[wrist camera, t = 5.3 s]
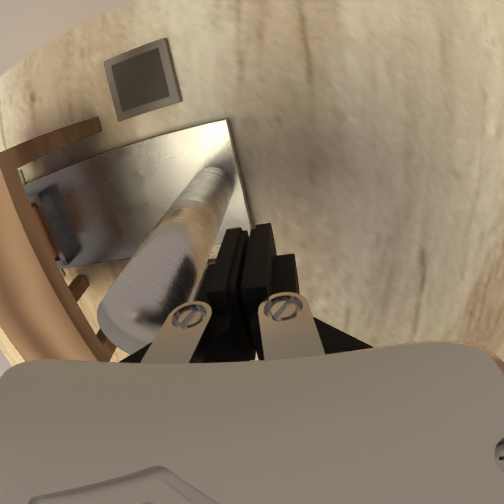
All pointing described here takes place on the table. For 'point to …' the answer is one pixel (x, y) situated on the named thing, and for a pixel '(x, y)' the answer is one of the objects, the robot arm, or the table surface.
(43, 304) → the wooden table
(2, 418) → the robot arm
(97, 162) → the metal rod stand
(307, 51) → the table surface
